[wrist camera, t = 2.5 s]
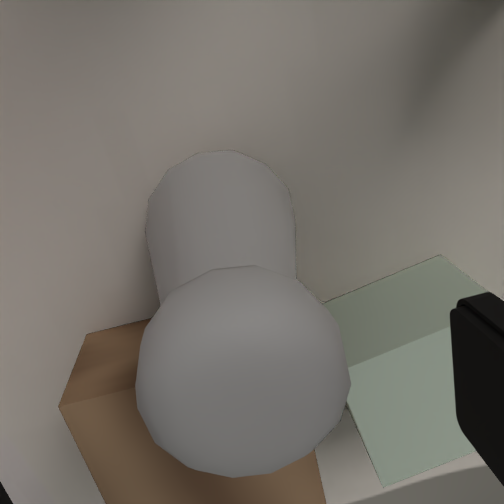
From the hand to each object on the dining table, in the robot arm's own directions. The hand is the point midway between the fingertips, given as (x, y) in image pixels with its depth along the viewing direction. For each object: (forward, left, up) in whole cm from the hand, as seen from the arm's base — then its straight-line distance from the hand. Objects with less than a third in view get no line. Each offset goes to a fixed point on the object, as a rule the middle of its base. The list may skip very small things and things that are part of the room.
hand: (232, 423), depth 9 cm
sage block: (-7, +8, -13) cm, 17 cm away
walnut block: (+3, +8, -13) cm, 15 cm away
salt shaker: (0, -1, -13) cm, 13 cm away
